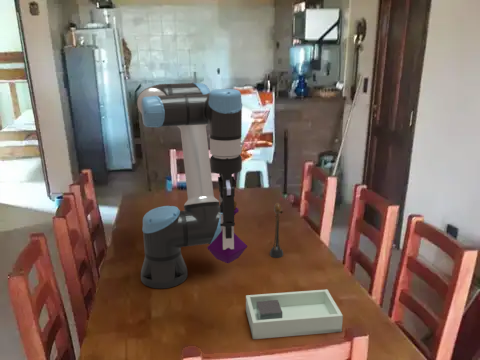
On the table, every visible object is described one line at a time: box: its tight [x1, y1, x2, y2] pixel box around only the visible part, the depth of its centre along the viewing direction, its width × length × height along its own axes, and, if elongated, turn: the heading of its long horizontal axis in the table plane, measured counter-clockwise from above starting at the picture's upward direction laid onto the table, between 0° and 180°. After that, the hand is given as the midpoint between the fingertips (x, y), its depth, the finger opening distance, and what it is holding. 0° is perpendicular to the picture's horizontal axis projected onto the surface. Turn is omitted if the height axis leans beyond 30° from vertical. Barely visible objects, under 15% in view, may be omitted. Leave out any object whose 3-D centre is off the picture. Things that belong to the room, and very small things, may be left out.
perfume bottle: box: [206, 192, 248, 264], centre depth 111 cm, size 8×8×18 cm
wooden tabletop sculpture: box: [269, 202, 284, 259], centre depth 156 cm, size 6×5×20 cm
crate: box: [245, 288, 344, 340], centre depth 121 cm, size 24×13×5 cm, turn 97°
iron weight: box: [256, 300, 282, 320], centre depth 120 cm, size 6×6×4 cm
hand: (227, 242), depth 112 cm, fingers closed on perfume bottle, 6 cm apart
